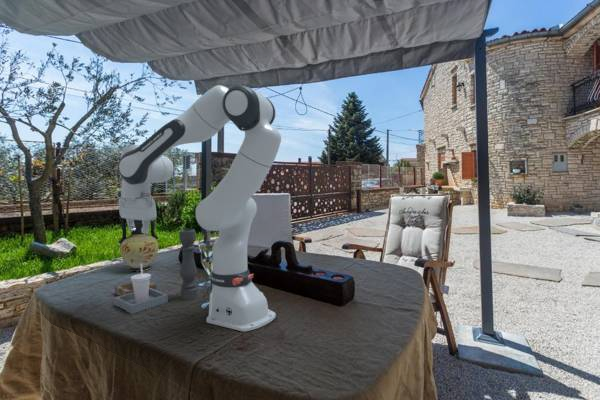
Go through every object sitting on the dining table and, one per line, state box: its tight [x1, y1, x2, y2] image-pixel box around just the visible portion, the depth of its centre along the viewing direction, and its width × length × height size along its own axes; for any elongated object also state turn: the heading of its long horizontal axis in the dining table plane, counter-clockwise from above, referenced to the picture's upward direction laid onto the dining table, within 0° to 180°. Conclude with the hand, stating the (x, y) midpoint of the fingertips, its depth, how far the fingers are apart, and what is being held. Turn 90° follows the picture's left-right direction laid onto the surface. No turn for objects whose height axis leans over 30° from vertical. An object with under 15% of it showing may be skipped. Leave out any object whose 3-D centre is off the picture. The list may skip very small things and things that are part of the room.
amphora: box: [118, 215, 159, 272], centre depth 157 cm, size 18×17×30 cm
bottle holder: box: [114, 281, 157, 296], centre depth 125 cm, size 11×11×3 cm
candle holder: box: [178, 229, 199, 301], centre depth 119 cm, size 6×6×25 cm
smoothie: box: [130, 263, 152, 303], centre depth 113 cm, size 6×6×14 cm
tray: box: [114, 288, 169, 315], centre depth 114 cm, size 13×13×3 cm
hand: (138, 232), depth 112 cm, fingers open, 8 cm apart
